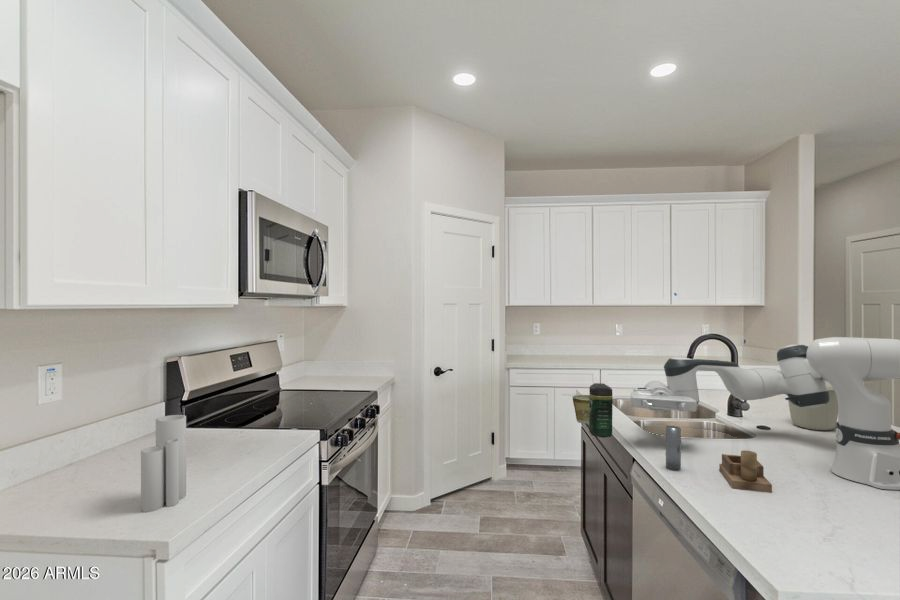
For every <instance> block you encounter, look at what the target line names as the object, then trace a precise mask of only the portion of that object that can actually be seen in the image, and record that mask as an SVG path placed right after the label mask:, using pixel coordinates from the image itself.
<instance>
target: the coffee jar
mask: <svg viewBox="0 0 900 600" xmlns="http://www.w3.org/2000/svg"><path fill="white" fill-rule="evenodd" d="M588 395H589V397H590V406H589V424H588V426H589V427H588V429H589V433H590V435H591V436H593V437H598V438H603V439H604V438H611V437H612V436H613V389H612V387H610V386H608V384H607V385H606V384H605V383H602V382H601V383H599V382H597V383H596V382H594V383H593V384H591V385H590V386H589V393H588Z"/></svg>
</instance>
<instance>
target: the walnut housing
mask: <svg viewBox="0 0 900 600" xmlns="http://www.w3.org/2000/svg"><path fill="white" fill-rule="evenodd" d="M718 467H719V469H718V470H719V472H720V473H721V474H722V476H723V477H724V479H725V481H726V482H727V483H728V484H729V486H730V487H731V488H732V489H739V490H746V491H756V492H762V493H764V492H765V493H773V484H772V483H771V482H770V481H769V480H768V479H767V478H766V477H765V476H764V469H765V468H764V466H763V464H762V463H760V462H759V460H758V454H757V452H755V451H751V450H740V455H738V454H737V455H735V454H725V453H722V454H721V463H719V466H718Z"/></svg>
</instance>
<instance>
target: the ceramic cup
mask: <svg viewBox="0 0 900 600" xmlns="http://www.w3.org/2000/svg"><path fill="white" fill-rule="evenodd" d="M572 404H573V407H574V412H575V418H576V419H575V420H576V422H577V423H580V424H585V425H586V424H587V425H589V406H590V397H589V394H574V395H573V396H572Z"/></svg>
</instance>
